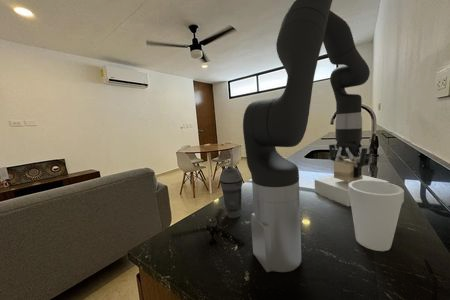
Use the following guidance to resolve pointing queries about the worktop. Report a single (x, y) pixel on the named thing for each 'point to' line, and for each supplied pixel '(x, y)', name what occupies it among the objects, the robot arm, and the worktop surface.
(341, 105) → the robot arm
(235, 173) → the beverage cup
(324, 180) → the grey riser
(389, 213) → the foam cup
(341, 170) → the maple block
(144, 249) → the worktop surface
